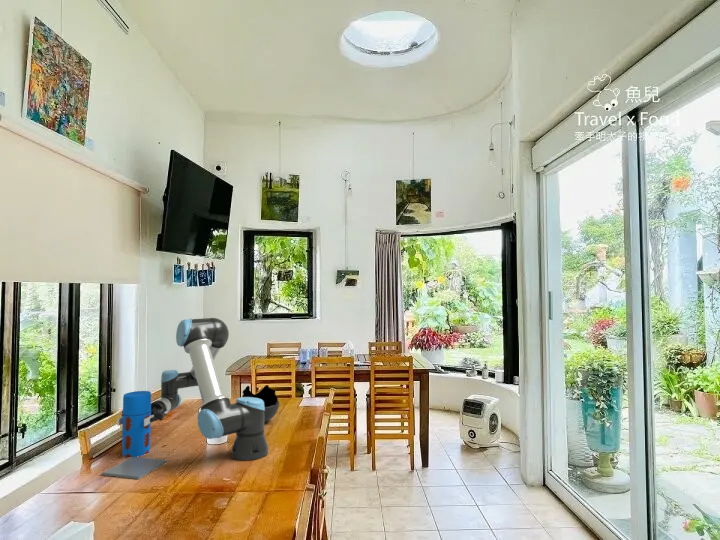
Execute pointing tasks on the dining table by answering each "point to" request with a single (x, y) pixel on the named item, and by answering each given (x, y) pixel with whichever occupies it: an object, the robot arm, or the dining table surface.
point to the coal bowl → (265, 400)
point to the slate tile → (134, 467)
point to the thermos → (136, 423)
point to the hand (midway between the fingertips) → (131, 422)
